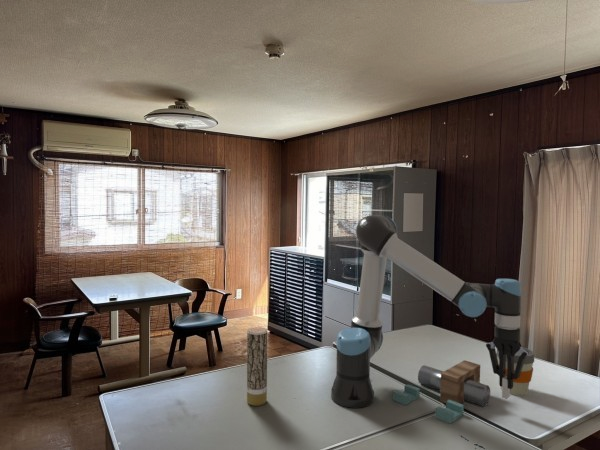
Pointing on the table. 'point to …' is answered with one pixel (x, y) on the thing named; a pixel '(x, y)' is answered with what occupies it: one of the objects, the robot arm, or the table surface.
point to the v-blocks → (447, 414)
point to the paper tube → (256, 366)
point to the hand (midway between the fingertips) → (505, 396)
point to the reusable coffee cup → (526, 374)
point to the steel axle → (471, 388)
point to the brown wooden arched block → (458, 381)
